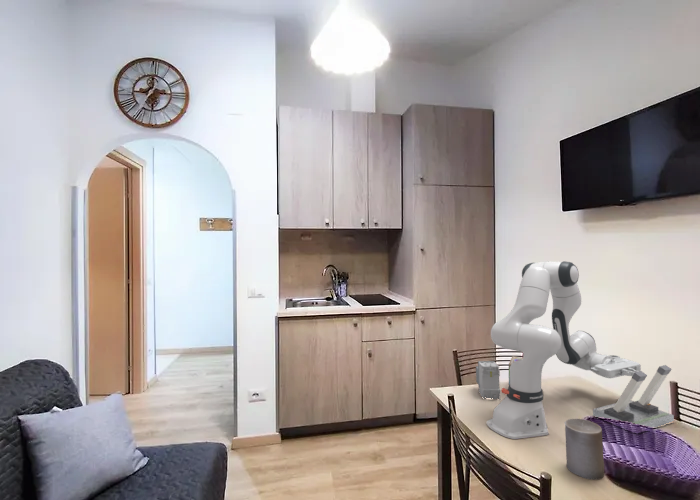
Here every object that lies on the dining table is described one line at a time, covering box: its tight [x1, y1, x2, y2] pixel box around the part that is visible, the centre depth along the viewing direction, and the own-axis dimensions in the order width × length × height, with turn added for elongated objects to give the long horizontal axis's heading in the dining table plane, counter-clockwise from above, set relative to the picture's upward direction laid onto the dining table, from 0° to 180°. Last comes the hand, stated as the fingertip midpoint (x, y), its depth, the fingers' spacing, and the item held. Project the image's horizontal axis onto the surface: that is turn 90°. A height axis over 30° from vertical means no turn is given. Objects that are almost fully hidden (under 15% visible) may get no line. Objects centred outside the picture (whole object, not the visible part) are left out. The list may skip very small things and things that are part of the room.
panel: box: [592, 400, 675, 427], centre depth 143 cm, size 22×16×5 cm
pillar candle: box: [564, 418, 605, 480], centre depth 111 cm, size 10×10×15 cm
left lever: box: [613, 370, 648, 412], centre depth 136 cm, size 4×2×18 cm, turn 111°
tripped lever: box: [637, 364, 673, 405], centre depth 142 cm, size 4×2×18 cm, turn 111°
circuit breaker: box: [475, 360, 501, 400], centre depth 172 cm, size 8×14×15 cm, turn 174°
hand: (638, 374), depth 147 cm, fingers closed
